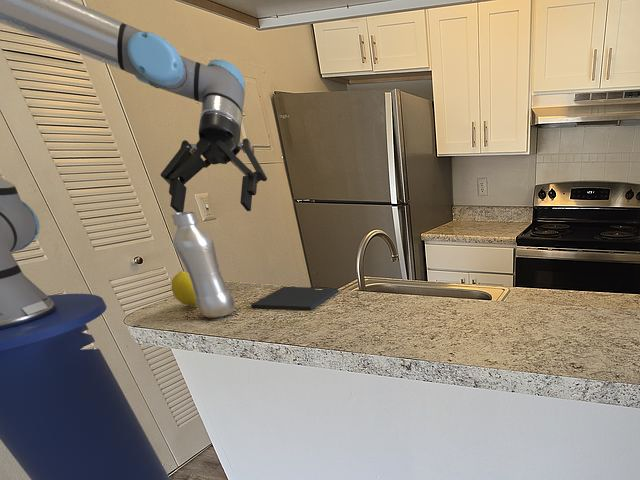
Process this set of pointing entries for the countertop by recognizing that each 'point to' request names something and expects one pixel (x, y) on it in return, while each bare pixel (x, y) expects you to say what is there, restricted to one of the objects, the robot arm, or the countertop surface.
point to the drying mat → (295, 298)
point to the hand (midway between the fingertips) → (211, 208)
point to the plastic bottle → (201, 266)
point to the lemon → (183, 289)
